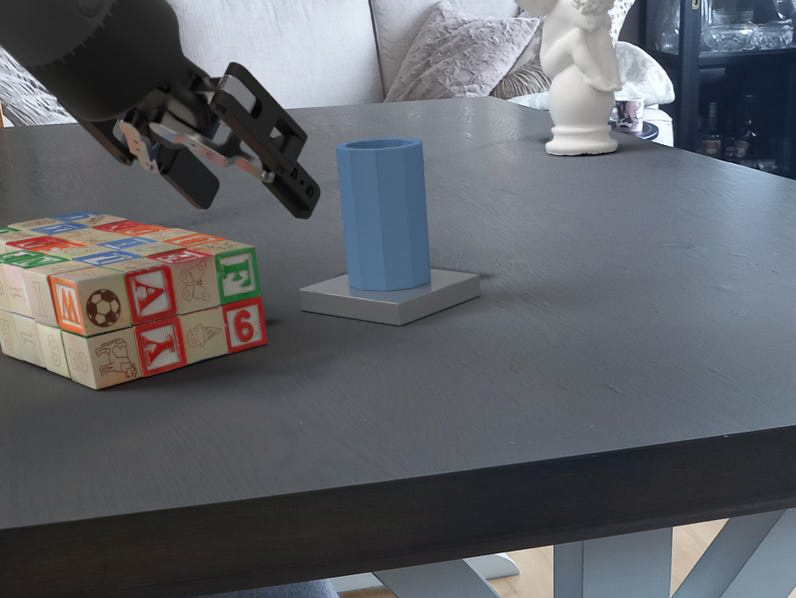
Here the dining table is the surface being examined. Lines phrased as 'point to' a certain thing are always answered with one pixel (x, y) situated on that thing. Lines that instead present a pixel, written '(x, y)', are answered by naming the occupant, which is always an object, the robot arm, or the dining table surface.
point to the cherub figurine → (578, 72)
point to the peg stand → (390, 298)
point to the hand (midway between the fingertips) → (259, 201)
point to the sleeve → (384, 213)
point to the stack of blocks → (123, 297)
